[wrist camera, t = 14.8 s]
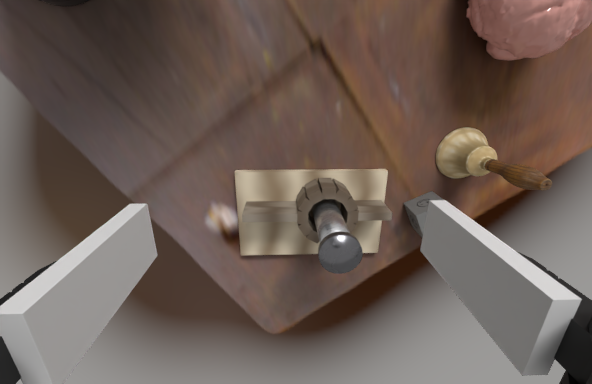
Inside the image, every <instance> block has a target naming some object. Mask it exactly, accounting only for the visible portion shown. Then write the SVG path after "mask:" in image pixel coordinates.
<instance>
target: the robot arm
mask: <svg viewBox="0 0 592 384" xmlns="http://www.w3.org/2000/svg"><path fill="white" fill-rule="evenodd" d="M40 1H43V2H46V3H49V4H53V5H59V6H73V5H78V4H82V3H84V2H87V1H88V0H40ZM420 250H421V252H422V253H423V254H424V256H425V257H426V258H427V259H428V261H429V262H430V263H431V264H432V265H433V267H434V268H435V269H436V270H437V272H438V273H439V274H440V275H441V277H442V278H443V279H444V280H445V281H446V283H447V284H448V285H449V286H450V288H451V289H452V290H453V291H454V292H455V294H456V295H457V296H458V297H459V299H460V300H461V301H462V302H463V303H464V305H465V306H466V307H467V308H468V310H469V311H470V312H471V313H472V315H473V316H474V317H475V318H476V319H477V321H478V322H479V323H480V324H481V326H482V327H483V328H484V329H485V330H486V332H487V333H488V334H489V335H490V337H491V338H492V339H493V340H494V341H495V343H496V344H497V345H498V346H499V348H500V349H501V350H502V351H503V353H504V354H505V355H506V356H507V358H508V359H509V360H510V361H511V362H512V364H513V365H514V366H515V367H516V369H517V370H518V371H519V372H520V373H521V375H522V376H524V375H548V373H549V371H550V368H551V366H552V364H553V361H554V360H555V359H556V360H557V361H558V362H559V363H560V364H561V366H562V367H563V368H564V369H565V370H566V371H565V373H564V375H563V377H562V379H561V381H560V383H559V384H592V300H590V299H589V298H587V297H586V296H585V295H583V294H582V293H580V292H579V291H578V290H576V289H575V288H573V287H572V286H570V285H569V284H568V283H566V282H565V281H563V280H562V279H558V277H557V276H556V275H555V274H553V273H552V272H550V271H547V269H546V268H545V267H544V266H542V265H541V264H539V263H538V262H536V261H535V260H533V259H532V258H529V257H527V256H525V255H523V254H521V253H519V252H516V251H515V250H513V249H512V248H511V247H509V246H508V245H506V244H505V243H504V242H502V241H501V240H500V239H498V238H497V237H495V236H494V235H493V234H491V233H490V232H489V231H487V230H486V229H484V228H483V227H482V226H480V225H479V224H477V223H476V222H475V221H473V220H472V219H471V218H469V217H468V216H466V215H465V214H464V213H462V212H461V211H460V210H458V209H457V208H455V207H454V206H453V205H451V204H450V203H449V202H447V201H446V200H430V201H429V206H428V211H427V217H426V222H425V228H424V233H423V238H422V244H421V249H420ZM156 257H157V251H156V245H155V240H154V235H153V230H152V225H151V220H150V215H149V210H148V205H147V204H129V205H128V206H127V207H126V208H124V209H123V210H122V211H120V212H119V213H118V214H117V215H115V216H114V217H113V218H112V219H110V220H109V221H108V222H106V223H105V224H104V225H103V226H101V227H100V228H99V229H98V230H96V231H95V232H94V233H92V234H91V235H90V236H89V237H87V238H86V239H85V240H84V241H82V242H81V243H80V244H79V245H77V246H76V247H75V248H73V249H72V250H71V251H70V252H68V253H67V254H66V255H64V256H63V257H62V258H61V259H59V260H58V261H55V262H53V263H52V264H50V265H48V266H46V267H44V268H42V269H40V270H38V271H37V272H35V273H34V274H33V275H31V276H30V277H29V278H27V279H26V280H25V281H24V283H21V284H19V285H18V286H17V287H16V288H14V289H13V290H12V292H9V293H8V294H6V295H5V296H4V297H3V298H1V299H0V384H16V383H17V381H18V380H19V379H21V381H22V382H23V384H64V382H65V381H66V379H67V378H68V377H69V375H70V374H71V372H72V371H73V370H74V368H75V367H76V366H77V365H78V363H79V362H80V360H81V359H82V358H83V356H84V355H85V354H86V352H87V351H88V349H89V348H90V347H91V345H92V344H93V343H94V341H95V340H96V339H97V337H98V336H99V334H100V333H101V332H102V330H103V329H104V328H105V326H106V325H107V324H108V322H109V321H110V319H111V318H112V317H113V315H114V314H115V313H116V311H117V310H118V308H119V307H120V306H121V304H122V303H123V302H124V300H125V299H126V298H127V296H128V295H129V294H130V292H131V291H132V289H133V288H134V287H135V285H136V284H137V283H138V281H139V280H140V279H141V277H142V276H143V274H144V273H145V272H146V270H147V269H148V268H149V266H150V265H151V264H152V262H153V261H154V259H155V258H156Z"/></svg>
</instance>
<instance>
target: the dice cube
mask: <svg viewBox="0 0 592 384" xmlns="http://www.w3.org/2000/svg"><path fill="white" fill-rule="evenodd" d="M430 200H443V199H442V198H441V197H439V196H438V195H436V194H435V193H434V192H432V191H431V192H428V193H426V194H424V195H421V196H419V197H417V198H414V199H412V200H410V201H407V202H405V203H404V206H405V209H406V211H407V214H408V217H409V220H410V222H411V225H412V227H413V228H414V229H415V231H416V232H417V233H418V234H419V235H420V236H421V237H422V238H423V233H424V228H425V222H426V217H427V211H428V206H429V201H430Z"/></svg>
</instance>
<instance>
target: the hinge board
mask: <svg viewBox="0 0 592 384" xmlns="http://www.w3.org/2000/svg"><path fill="white" fill-rule="evenodd" d="M387 175H388V171H387V170H386V169H320V170H236V171H235V184H236V197H237V210H238V223H239V237H240V250H241V255H286V254H318V247H319V244H320V242H319V237H318V233H317V229H316V225H315V221H314V216H313V212H312V207H313V205H314V204H316V203H317V202H319V201H321V200H323V199H335V201H336V204H337V206H338V208H339V210H340V212H341V214H342V217H343V219H344V221H345V223H346V225H347V227H348V230H349V232H350V234H352V235H354V236H355V237H356V238H357V239H358V241H359V243H360V245H361V247H362V252H363V253H378V247H379V239H380V231H381V223H382V220H391V218H392V212H391V211H390V210H389V208H388V207H387V206H386V205H385V204H384V199H385V191H386V183H387Z"/></svg>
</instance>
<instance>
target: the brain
mask: <svg viewBox="0 0 592 384" xmlns="http://www.w3.org/2000/svg"><path fill="white" fill-rule="evenodd" d="M467 3H468V5H469V8H467V16H466V17H467V18H469V21H470V24H471V26H472V28H473V30H474V31H475V32H476V33H477V35H478V37H482V39H484V40H486V41H487V44H486V50H487V52H488V53H489V54H490V55H491V56H492V57H493V58H494V59H498V60H506V61H512V60H519V59H523V58H533V59H535V58H538V57H542V56H544V55H546V54H549V53H551V52H554V51H556V50H557V49H559V48H560V47H562V46H563V45H564V44H565V43H566V42H567V41H568V40H570V39H572V38H574V37H575V36H577V35H578V34H580V33H581V32H582V31H583V30H585V29H586V28H587V27H588V26H589V25H590V24H591V22H592V0H469V1H468V2H467Z"/></svg>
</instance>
